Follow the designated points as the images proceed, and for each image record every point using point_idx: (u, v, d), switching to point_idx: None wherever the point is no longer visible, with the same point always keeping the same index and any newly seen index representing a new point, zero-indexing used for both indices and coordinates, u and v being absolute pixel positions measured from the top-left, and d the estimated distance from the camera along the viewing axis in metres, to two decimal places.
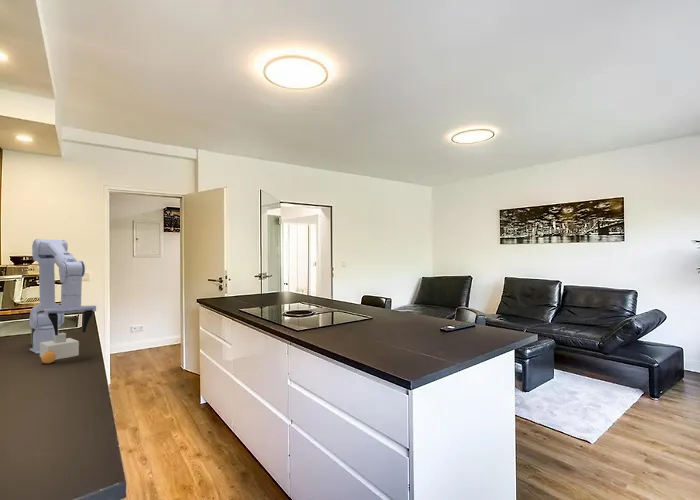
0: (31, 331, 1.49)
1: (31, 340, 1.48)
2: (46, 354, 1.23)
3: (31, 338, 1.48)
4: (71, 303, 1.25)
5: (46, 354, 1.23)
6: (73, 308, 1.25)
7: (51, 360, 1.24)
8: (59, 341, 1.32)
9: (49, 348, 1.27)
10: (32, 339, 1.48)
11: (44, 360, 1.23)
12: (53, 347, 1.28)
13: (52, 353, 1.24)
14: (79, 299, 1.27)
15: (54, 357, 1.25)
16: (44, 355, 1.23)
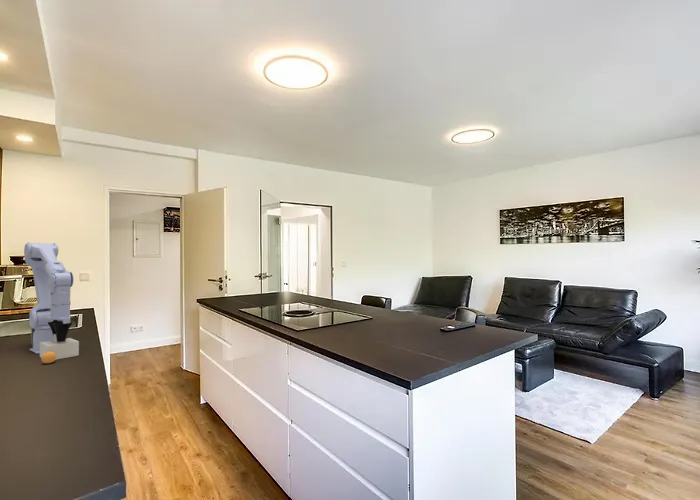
0: (31, 331, 1.49)
1: (31, 340, 1.48)
2: (46, 354, 1.23)
3: (31, 338, 1.48)
4: (50, 312, 1.31)
5: (46, 354, 1.23)
6: (49, 317, 1.31)
7: (51, 360, 1.24)
8: None
9: (49, 348, 1.27)
10: (32, 339, 1.48)
11: (44, 360, 1.23)
12: (53, 347, 1.28)
13: (52, 353, 1.24)
14: (56, 309, 1.31)
15: (54, 357, 1.25)
16: (44, 355, 1.23)
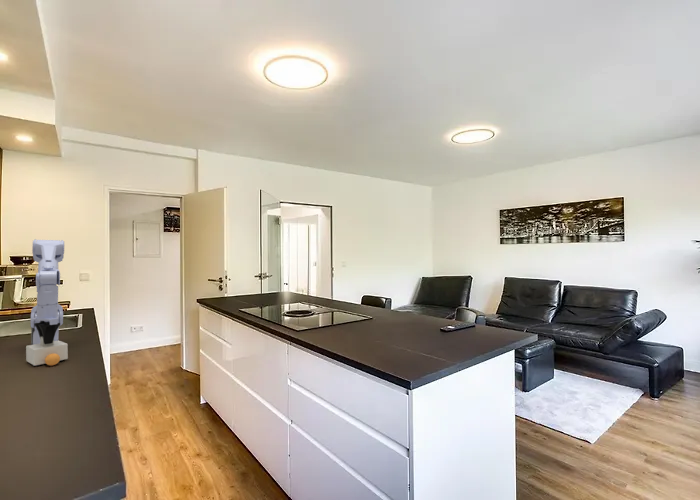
0: (31, 331, 1.49)
1: (31, 340, 1.48)
2: (49, 364, 1.21)
3: (31, 338, 1.48)
4: (37, 312, 1.24)
5: None
6: (35, 318, 1.23)
7: None
8: (46, 344, 1.25)
9: (35, 352, 1.20)
10: (32, 339, 1.48)
11: None
12: (40, 351, 1.21)
13: (55, 364, 1.22)
14: (43, 309, 1.24)
15: None
16: (47, 364, 1.21)
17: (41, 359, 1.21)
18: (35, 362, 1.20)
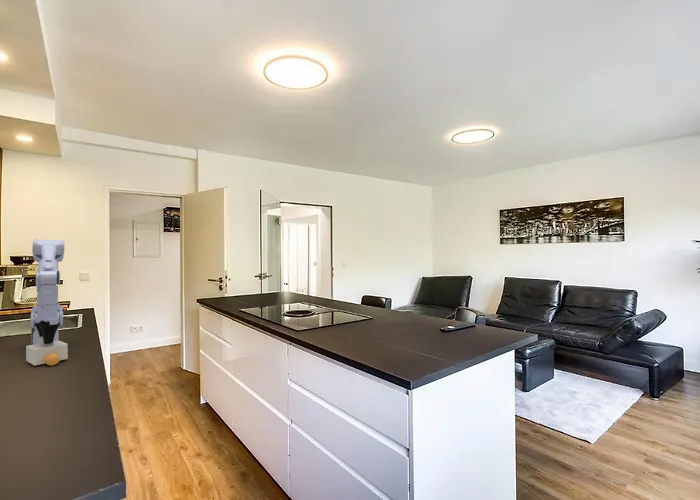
0: (31, 331, 1.49)
1: (31, 340, 1.48)
2: (49, 364, 1.21)
3: (31, 338, 1.48)
4: (37, 312, 1.24)
5: None
6: (35, 318, 1.23)
7: None
8: (46, 344, 1.25)
9: (35, 352, 1.20)
10: (32, 339, 1.48)
11: None
12: (40, 351, 1.21)
13: (55, 364, 1.22)
14: (43, 309, 1.24)
15: None
16: (47, 364, 1.21)
17: (41, 359, 1.21)
18: (35, 362, 1.20)
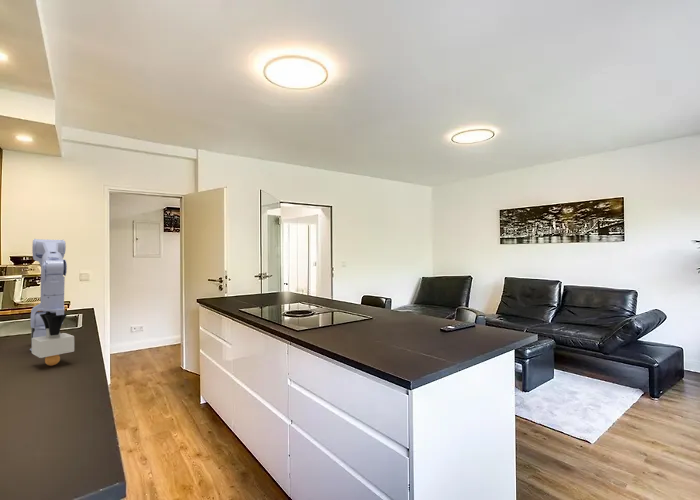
0: (31, 331, 1.49)
1: (31, 340, 1.48)
2: (49, 364, 1.21)
3: (31, 338, 1.48)
4: (43, 303, 1.21)
5: None
6: (41, 308, 1.20)
7: None
8: (52, 336, 1.21)
9: (41, 344, 1.17)
10: None
11: None
12: (46, 343, 1.17)
13: (55, 364, 1.22)
14: (49, 300, 1.20)
15: None
16: (47, 364, 1.21)
17: (47, 351, 1.18)
18: (41, 354, 1.16)
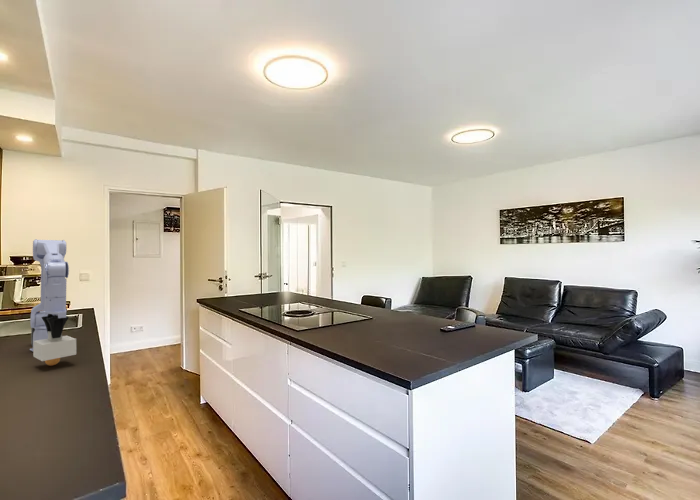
0: (31, 331, 1.49)
1: (31, 340, 1.48)
2: (49, 364, 1.21)
3: (31, 338, 1.48)
4: (44, 305, 1.19)
5: None
6: (42, 311, 1.19)
7: None
8: (54, 339, 1.20)
9: (43, 347, 1.16)
10: (32, 339, 1.48)
11: None
12: (48, 346, 1.16)
13: (55, 364, 1.22)
14: (51, 302, 1.19)
15: None
16: (47, 364, 1.21)
17: (49, 354, 1.17)
18: (43, 358, 1.15)
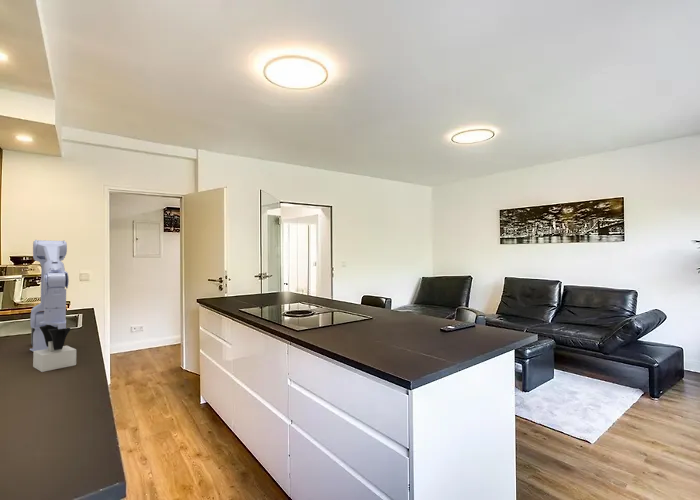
0: (31, 331, 1.49)
1: (31, 340, 1.48)
2: None
3: (31, 338, 1.48)
4: (44, 316, 1.19)
5: None
6: (42, 322, 1.19)
7: None
8: None
9: (43, 358, 1.16)
10: (32, 339, 1.48)
11: None
12: (48, 356, 1.16)
13: None
14: (50, 313, 1.19)
15: None
16: None
17: (49, 365, 1.17)
18: (43, 368, 1.15)
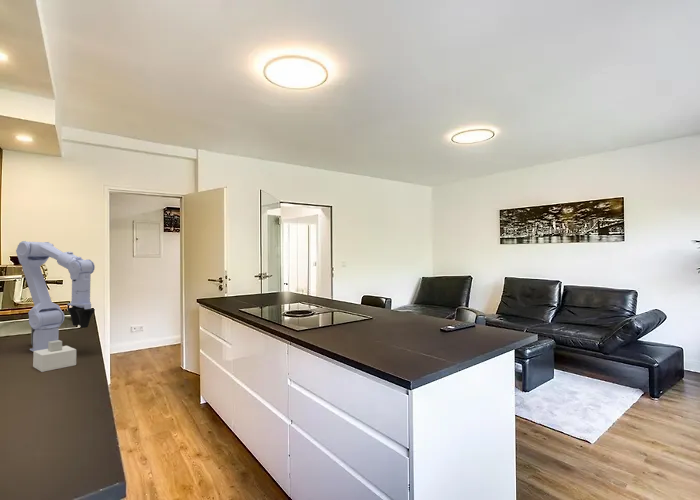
0: (31, 331, 1.49)
1: (31, 340, 1.48)
2: None
3: (31, 338, 1.48)
4: (72, 298, 1.35)
5: None
6: (70, 303, 1.34)
7: None
8: (54, 349, 1.20)
9: (43, 358, 1.16)
10: (32, 339, 1.48)
11: None
12: (48, 356, 1.16)
13: None
14: (77, 295, 1.35)
15: None
16: None
17: (49, 365, 1.17)
18: (43, 368, 1.15)
